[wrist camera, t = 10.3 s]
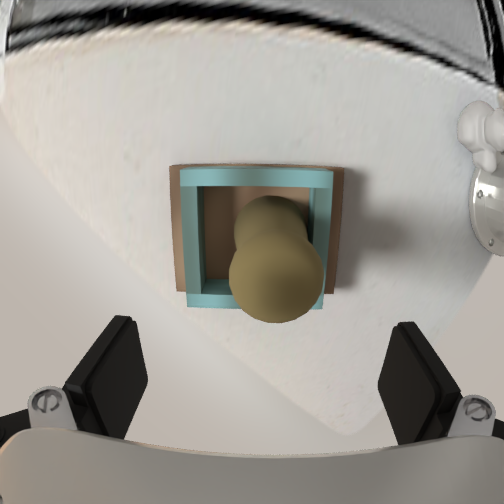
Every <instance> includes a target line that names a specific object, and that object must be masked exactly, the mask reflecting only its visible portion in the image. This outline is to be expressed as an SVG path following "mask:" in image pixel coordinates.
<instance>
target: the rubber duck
mask: <svg viewBox="0 0 504 504" xmlns="http://www.w3.org/2000/svg"><path fill="white" fill-rule="evenodd" d="M457 136H458V140H459V142H460V143H461V144H463V145H464V146H465V147H466V148H467V149H468V150H469V151H471V152H472V153H473V154H472V160H473V163H474V165H475V166H476V167H477V168H483V169H484V170H485V171H486V172H489V173H491V172H494V171H495V170H496V168H497V157H496V152H498V151H500V152H502V151H504V110H502V109H501V108H496V109H495V110H494V109H493V108H492V107H491V106H490V105H489V104H488V103H486V102H483V101H475V102H472V103H470V104H469V105H468V106H467V107H466V108H465V109H464V110H463V111H462V112H461V114H460V117H459V120H458V123H457Z"/></svg>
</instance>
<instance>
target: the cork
mask: <svg viewBox="0 0 504 504" xmlns="http://www.w3.org/2000/svg"><path fill="white" fill-rule="evenodd" d="M234 239H235V244H236V248H237V251H236V252H235V254H234V257H233V260H232V262H231V265H230V268H229V285H230V288H231V291H232V294H233V297H234V299H235V301H236V302H237V304H238V305H239V306H240V307H241V309H242V310H243V311H244V312H246V313H247V314H249V315H250V316H251V317H253V318H255V319H258V320H261V321H264V322H267V323H284V322H288V321H292V320H295V319H297V318H298V317H300V316H302V315H304V314H305V313H307V312H308V311H309V310H310V309H311V308H312V307H313V306H314V305H315V304H316V302H317V300H318V298H319V296H320V294H321V292H322V288H323V280H324V269H323V265H322V260H321V258H320V256H319V255H318V253H317V252H316V250H315V248H314V247H313V245H312V244H311V243H310V242H308V231H307V224H306V220H305V217H304V215H303V214H302V212H301V210H300V209H299V207H298V206H296V205H295V204H294V203H293V202H291V201H290V200H288V199H286V198H283V197H280V196H272V195H266V196H262V197H258V198H255V199H253V200H252V201H250V202H249V203H247V204H246V205H245V206H244V207H243V208H242V210H241V211H240V212H239V213H238V215H237V218H236V221H235V224H234Z"/></svg>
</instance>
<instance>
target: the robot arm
mask: <svg viewBox="0 0 504 504" xmlns="http://www.w3.org/2000/svg"><path fill="white" fill-rule="evenodd" d="M496 157H497V168H496V170H495V171H494V172H491V173H489V172H486V171H485V170H484V169H483V168H477V167H476V168H475V170H474V173H473V177H472V181H471V186H470V193H469V211H470V219H471V223H472V227H473V230H474V232H475V235H476V237H477V239H478V240H479V242H480V243H481V245H483V246H484V247H485V248H486V249H487V250H488V251H490V252H492V253H493V254H496V255H499V256H504V151H502V152H500V151H498V152H496ZM147 382H148V376H147V371H146V367H145V363H144V358H143V353H142V348H141V343H140V338H139V333H138V328H137V323H136V321H133V320H132V318H131V317H130V316H120V315H116V316H114V318H113V319H112V320H111V322H110V323H109V324H108V325H107V327H106V328H105V329H104V331H103V332H102V333H101V335H100V336H99V337H98V338H97V340H96V341H95V342H94V344H93V345H92V347H91V348H90V349H89V351H88V352H87V353H86V355H85V356H84V357H83V359H82V360H81V361H80V363H79V364H78V365H77V367H76V368H75V370H74V371H73V372H72V374H71V375H70V377H69V378H68V379H67V381H66V382H65V385H64V386H63V388H62V389H61V388H58V387H55V386H47V387H43V388H40V389H38V390H36V391H35V392H34V393H33V394H32V395H31V396H30V397H29V400H28V409H25V410H22V411H19V412H15V413H12V414H9V415H6V416H2V417H0V504H504V422H503V421H500V420H498V419H495V415H496V411H495V408H494V406H493V404H492V403H491V402H490V401H489V400H488V399H486V398H484V397H482V396H479V395H468V396H465V397H464V398H463V396H462V395H461V393H460V392H461V390H460V389H459V387H458V385H457V384H456V382H455V381H454V379H453V378H452V376H451V374H450V373H449V372H448V370H447V368H446V367H445V365H444V364H443V362H442V361H441V359H440V358H439V356H438V355H437V353H436V352H435V351H434V349H433V348H432V346H431V345H430V343H429V342H428V340H427V339H426V338H425V336H424V335H423V333H422V332H421V331H420V329H419V328H418V326H417V325H416V324H415V322H399V323H398V325H397V326H395V327H394V328H393V330H392V334H391V338H390V341H389V345H388V349H387V353H386V356H385V360H384V363H383V367H382V370H381V373H380V377H379V380H378V391H379V393H380V396H381V399H382V401H383V404H384V407H385V409H386V411H387V415H388V417H389V420H390V422H391V425H392V428H393V431H394V434H395V437H396V439H397V442H398V446H391V447H383V448H376V449H368V450H360V451H350V452H338V453H324V454H302V455H252V454H230V453H217V452H205V451H194V450H186V449H178V448H170V447H163V446H157V445H151V444H145V443H139V442H133V441H128V440H124V438H125V435H126V433H127V431H128V428H129V426H130V423H131V421H132V419H133V416H134V414H135V411H136V409H137V407H138V405H139V402H140V400H141V398H142V396H143V393H144V391H145V389H146V386H147Z"/></svg>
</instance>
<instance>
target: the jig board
mask: <svg viewBox="0 0 504 504" xmlns="http://www.w3.org/2000/svg"><path fill="white" fill-rule="evenodd" d="M169 172H170V200H171V221H172V238H173V252H174V266H175V278H176V289H177V291H181V292H186V296H187V307H198V308H229V309H241V307H240V306H239V305H238V304H237V302H236V301H235V299H234V297H233V294H232V291H231V288H230V285H229V268H230V265H231V262H232V260H233V257H234V254H235V252H236V251H237V248H236V244H235V239H234V224H235V221H236V218H237V215H238V213H239V212H240V211H241V210H242V208H243V207H244V206H245V205H246V204H247V203H249V202H250V201H252V200H253V199H255V198H258V197H262V196H266V195H272V196H280V197H283V198H286V199H288V200H290V201H291V202H293V203H294V204H295V205H296V206H298V207H299V209H300V210H301V212H302V214H303V215H304V217H305V220H306V224H307V231H308V242H310V243H311V244H312V245H313V247H314V248H315V250H316V252H317V253H318V255H319V256H320V258H321V260H322V265H323V269H324V280H323V288H322V292H321V294H320V296H319V298H318V300H317V302H316V304H315V305H314V306H313V307H312V308H311V309H322V306H323V297H324V294H334V286H335V277H336V268H337V259H338V248H339V238H340V226H341V213H342V199H343V182H344V168H341V167H327V166H307V165H280V164H191V165H172V166H169Z"/></svg>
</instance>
